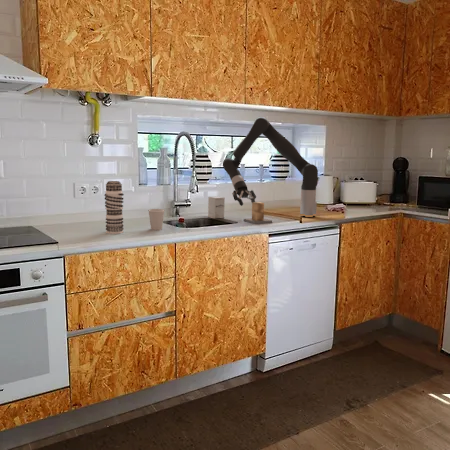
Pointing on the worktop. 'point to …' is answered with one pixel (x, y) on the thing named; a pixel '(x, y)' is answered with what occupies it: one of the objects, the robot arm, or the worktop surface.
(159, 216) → the dixie cup
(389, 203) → the worktop surface
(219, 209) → the supplement box
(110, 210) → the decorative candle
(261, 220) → the plate
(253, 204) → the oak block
